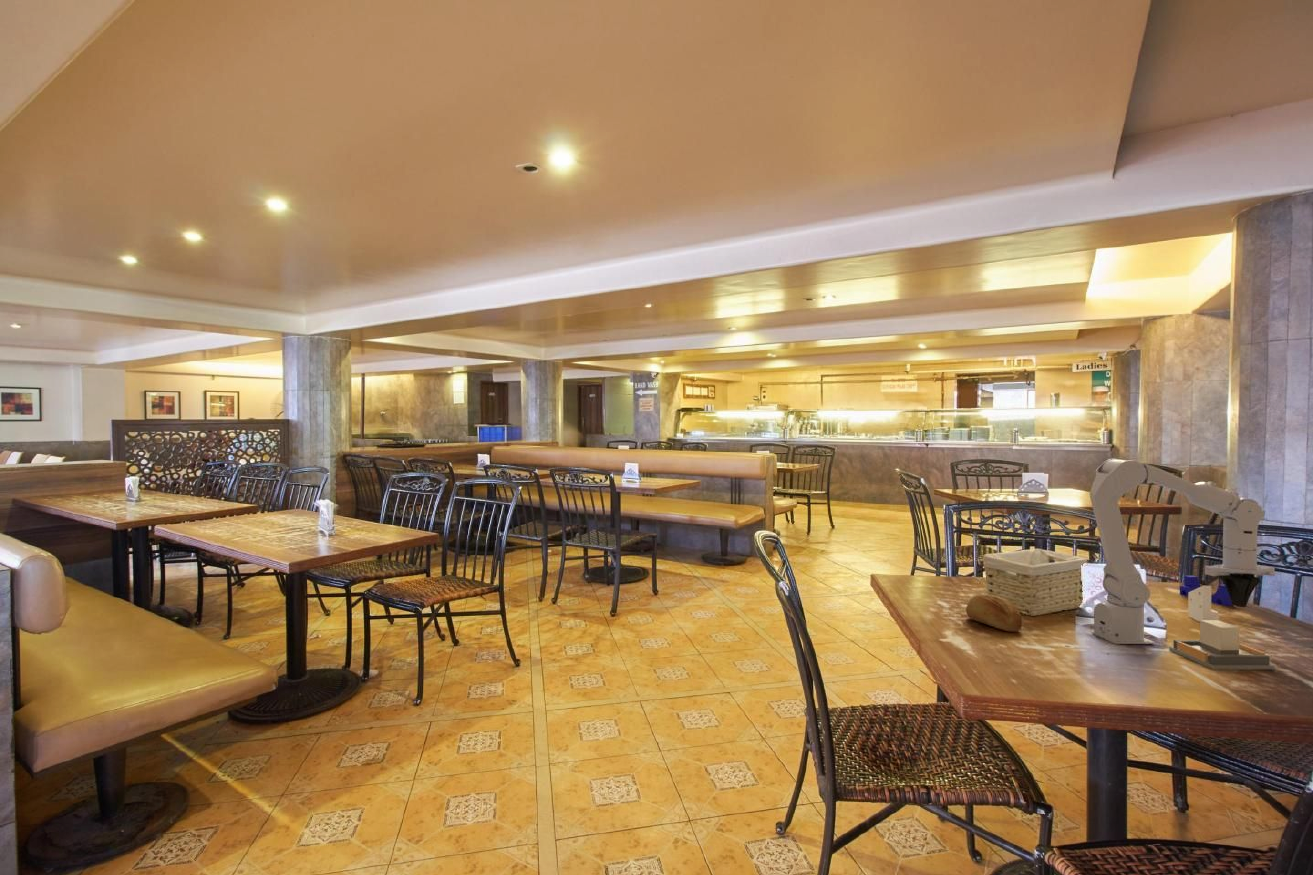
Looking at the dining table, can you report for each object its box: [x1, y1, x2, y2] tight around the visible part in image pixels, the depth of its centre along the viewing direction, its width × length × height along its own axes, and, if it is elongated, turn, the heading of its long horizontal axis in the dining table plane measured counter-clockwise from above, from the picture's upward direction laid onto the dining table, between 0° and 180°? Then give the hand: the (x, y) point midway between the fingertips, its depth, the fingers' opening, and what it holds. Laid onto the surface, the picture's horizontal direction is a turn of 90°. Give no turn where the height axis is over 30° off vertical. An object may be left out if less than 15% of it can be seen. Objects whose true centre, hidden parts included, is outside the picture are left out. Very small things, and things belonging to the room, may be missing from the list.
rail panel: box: [1169, 639, 1275, 670], centre depth 133 cm, size 13×11×3 cm
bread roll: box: [965, 593, 1023, 632], centre depth 156 cm, size 10×15×8 cm, turn 20°
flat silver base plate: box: [1192, 646, 1255, 660], centre depth 133 cm, size 11×6×1 cm, turn 90°
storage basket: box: [982, 548, 1088, 617], centre depth 173 cm, size 24×16×15 cm
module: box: [1199, 619, 1240, 655], centre depth 133 cm, size 4×5×6 cm
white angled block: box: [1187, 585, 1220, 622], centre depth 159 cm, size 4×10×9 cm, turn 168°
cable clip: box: [1179, 575, 1234, 607], centre depth 179 cm, size 12×4×6 cm, turn 4°
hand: (1238, 605), depth 140 cm, fingers closed
